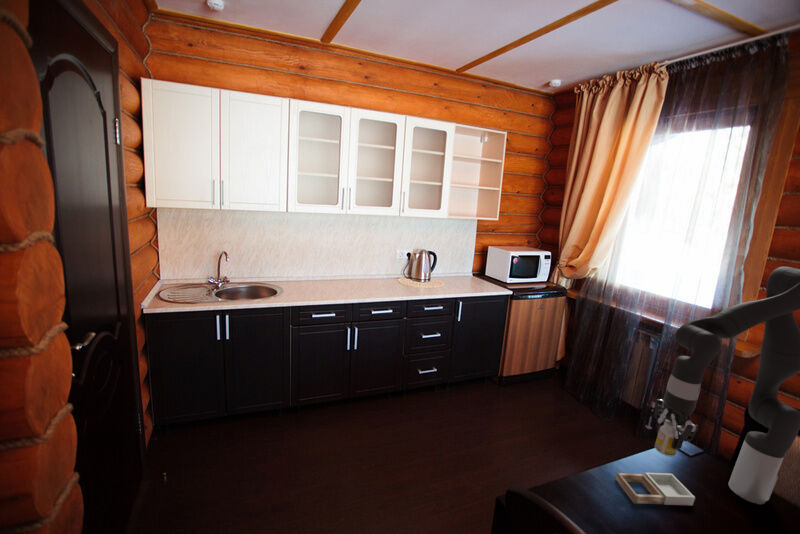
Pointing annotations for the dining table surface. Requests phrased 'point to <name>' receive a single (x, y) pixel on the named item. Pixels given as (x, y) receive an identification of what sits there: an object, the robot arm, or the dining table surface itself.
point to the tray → (671, 489)
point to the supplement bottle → (666, 439)
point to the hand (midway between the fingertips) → (667, 441)
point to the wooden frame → (639, 498)
